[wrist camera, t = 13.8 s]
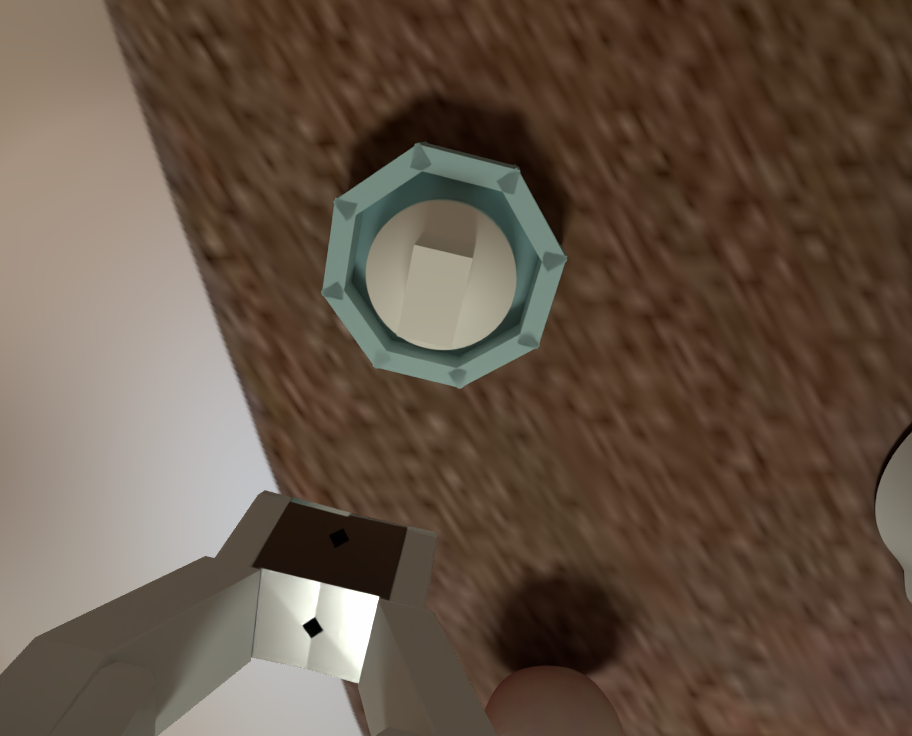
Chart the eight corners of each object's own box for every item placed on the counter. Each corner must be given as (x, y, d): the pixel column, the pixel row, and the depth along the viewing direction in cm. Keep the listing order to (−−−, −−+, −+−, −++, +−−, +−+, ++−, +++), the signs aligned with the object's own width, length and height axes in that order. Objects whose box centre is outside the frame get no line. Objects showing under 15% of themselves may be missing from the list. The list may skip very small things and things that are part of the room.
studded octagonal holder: (583, 181, 26) (591, 186, 24) (519, 382, 30) (521, 404, 28) (357, 123, 26) (343, 123, 23) (326, 335, 30) (312, 353, 28)
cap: (532, 217, 26) (539, 234, 22) (495, 352, 29) (495, 391, 24) (385, 181, 26) (363, 192, 21) (362, 321, 28) (339, 355, 24)
